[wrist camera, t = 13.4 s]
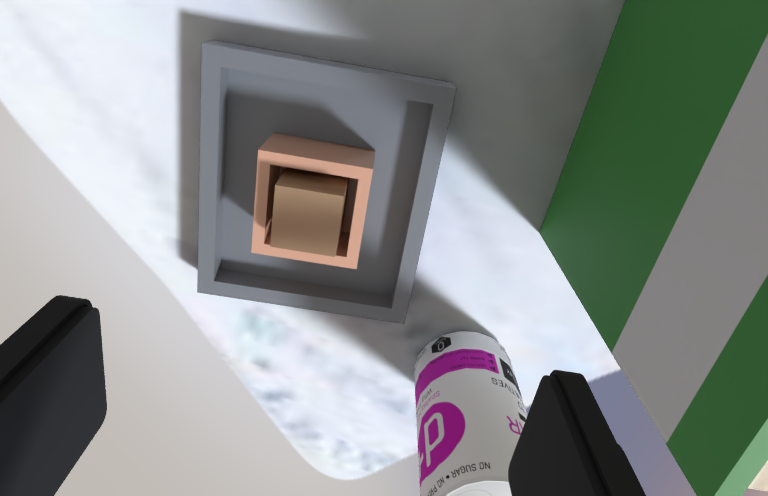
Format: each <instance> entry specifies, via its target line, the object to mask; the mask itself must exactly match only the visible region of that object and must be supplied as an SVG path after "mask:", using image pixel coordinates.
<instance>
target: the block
mask: <svg viewBox="0 0 768 496" xmlns="http://www.w3.org/2000/svg"><path fill="white" fill-rule="evenodd" d="M348 185H349V177H343V176H337V175H331V174H325V173H319V172H313V171H307V170H301V169H295V168H289V167H286V168H285V170H284V172H283V173H282V175H281V176H280V178H279V180H278V181H277V183H276V184H275V193H274V205H273V217H272V229H271V241H270V247H275V248H281V249H287V250H294V251H300V252H306V253H313V254H319V255H325V256H331V257H335V256H336V251H337V247H338V242H339V238H340V234H341V229H342V225H343V219H344V212H345V206H346V199H347V192H348Z"/></svg>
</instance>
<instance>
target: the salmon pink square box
mask: <svg viewBox="0 0 768 496" xmlns="http://www.w3.org/2000/svg"><path fill="white" fill-rule="evenodd" d="M375 151H376V150H373V149H367V148H361V147H355V146H349V145H344V144H338V143H332V142H326V141H320V140H314V139H308V138H303V137H297V136H291V135H285V134H279V133H272V135H271V136H270V137H269V138H268V139H267V140H266V141H265V143H264V144H263V145H262V146H261V147H260V148H259V149H258V159H257V174H256V189H255V204H254V219H253V234H252V249H251V253H257V254H263V255H269V256H276V257H282V258H288V259H294V260H301V261H307V262H313V263H320V264H326V265H332V266H339V267H345V268H351V269H357V263H358V257H359V251H360V245H361V239H362V233H363V227H364V221H365V215H366V209H367V203H368V197H369V191H370V185H371V179H372V173H373V166H374V158H375ZM286 167H289V168H295V169H301V170H307V171H313V172H319V173H325V174H331V175H337V176H343V177H349V185H348V192H347V199H346V206H345V212H344V219H343V225H342V229H341V234H340V238H339V242H338V247H337V251H336V256H335V257H331V256H325V255H319V254H313V253H306V252H300V251H294V250H287V249H281V248H275V247H270V241H271V229H272V217H273V205H274V193H275V184H276V183H277V181H278V180H279V178H280V176H281V175H282V173H283V172H284V170H285V168H286Z"/></svg>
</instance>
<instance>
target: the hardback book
mask: <svg viewBox="0 0 768 496" xmlns="http://www.w3.org/2000/svg"><path fill="white" fill-rule="evenodd" d="M539 233H540V235H541V236H542V238H543V240H544V241H545V243H546V245H547V246H548V248H549V250H550V251H551V253H552V255H553V256H554V258H555V260H556V261H557V263H558V265H559V266H560V268H561V270H562V271H563V273H564V275H565V276H566V278H567V280H568V281H569V283H570V285H571V286H572V288H573V290H574V291H575V293H576V295H577V296H578V298H579V300H580V301H581V303H582V305H583V306H584V308H585V310H586V311H587V313H588V315H589V316H590V318H591V320H592V321H593V323H594V325H595V326H596V328H597V330H598V331H599V333H600V335H601V336H602V338H603V340H604V341H605V343H606V345H607V346H608V348H609V350H610V351H611V353H612V355H613V356H614V358H615V360H616V361H617V363H618V365H619V366H620V368H621V370H622V371H623V373H624V374H625V376H626V378H627V380H628V381H629V383H630V385H631V386H632V388H633V390H634V392H635V393H636V395H637V397H638V398H639V400H640V402H641V403H642V405H643V406H644V408H645V410H646V412H647V413H648V415H649V417H650V418H651V420H652V421H653V423H654V425H655V426H656V428H657V430H658V432H659V433H660V435H661V436H662V438H663V440H664V441H665V443H666V445H667V447H668V448H669V450H670V451H671V453H672V455H673V456H674V458H675V460H676V462H677V463H678V465H679V467H680V468H681V470H682V472H683V473H684V475H685V476H686V478H687V480H688V482H689V483H690V485H691V487H692V488H693V490H694V492H695V493H696V495H697V496H742V495H743V493H744V492H745V491H746V489H747V488H751V489H757V490H762V491H768V0H625V2H624V5H623V8H622V11H621V13H620V16H619V19H618V21H617V24H616V27H615V29H614V32H613V35H612V38H611V40H610V43H609V46H608V48H607V51H606V54H605V56H604V59H603V62H602V65H601V67H600V70H599V73H598V75H597V78H596V81H595V84H594V86H593V89H592V92H591V94H590V97H589V100H588V102H587V105H586V108H585V111H584V113H583V116H582V119H581V121H580V124H579V127H578V129H577V132H576V135H575V138H574V140H573V143H572V146H571V148H570V151H569V154H568V156H567V159H566V162H565V165H564V167H563V170H562V173H561V175H560V178H559V181H558V183H557V186H556V189H555V192H554V194H553V197H552V200H551V202H550V205H549V208H548V210H547V213H546V216H545V219H544V221H543V224H542V227H541V229H540V232H539Z"/></svg>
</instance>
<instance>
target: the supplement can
mask: <svg viewBox="0 0 768 496" xmlns="http://www.w3.org/2000/svg"><path fill="white" fill-rule="evenodd" d="M414 377H415V397H416V417H417V438H418V458H419V478H420V496H512V494H511V490H510V486H509V480H508V469H509V464H510V461H511V458H512V456H513V453H514V450H515V448H516V445H517V442H518V440H519V437H520V434H521V432H522V429H523V426H524V424H525V421H526V419H527V413H526V409H525V406H524V403H523V400H522V397H521V393H520V390H519V387H518V384H517V381H516V377H515V374H514V371H513V368H512V365H511V361H510V359H509V357H508V355H507V353H506V351H505V349H504V347H503V346H501V345H500V344H499V343H498V342H496V341H495V340H494V339H493V338H491V337H489V336H486V335H483V334H480V333H478V332H466V331H458V332H453V333H449V334H445V335H442V336H440V337H438V338H437V339H435V340H433V341H432V342H430V343H428V344H427V345H426V347H425V348H424V349H423V350H422V352H421V353H420V354H419V355H418V358H417V361H416V364H415V368H414Z"/></svg>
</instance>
